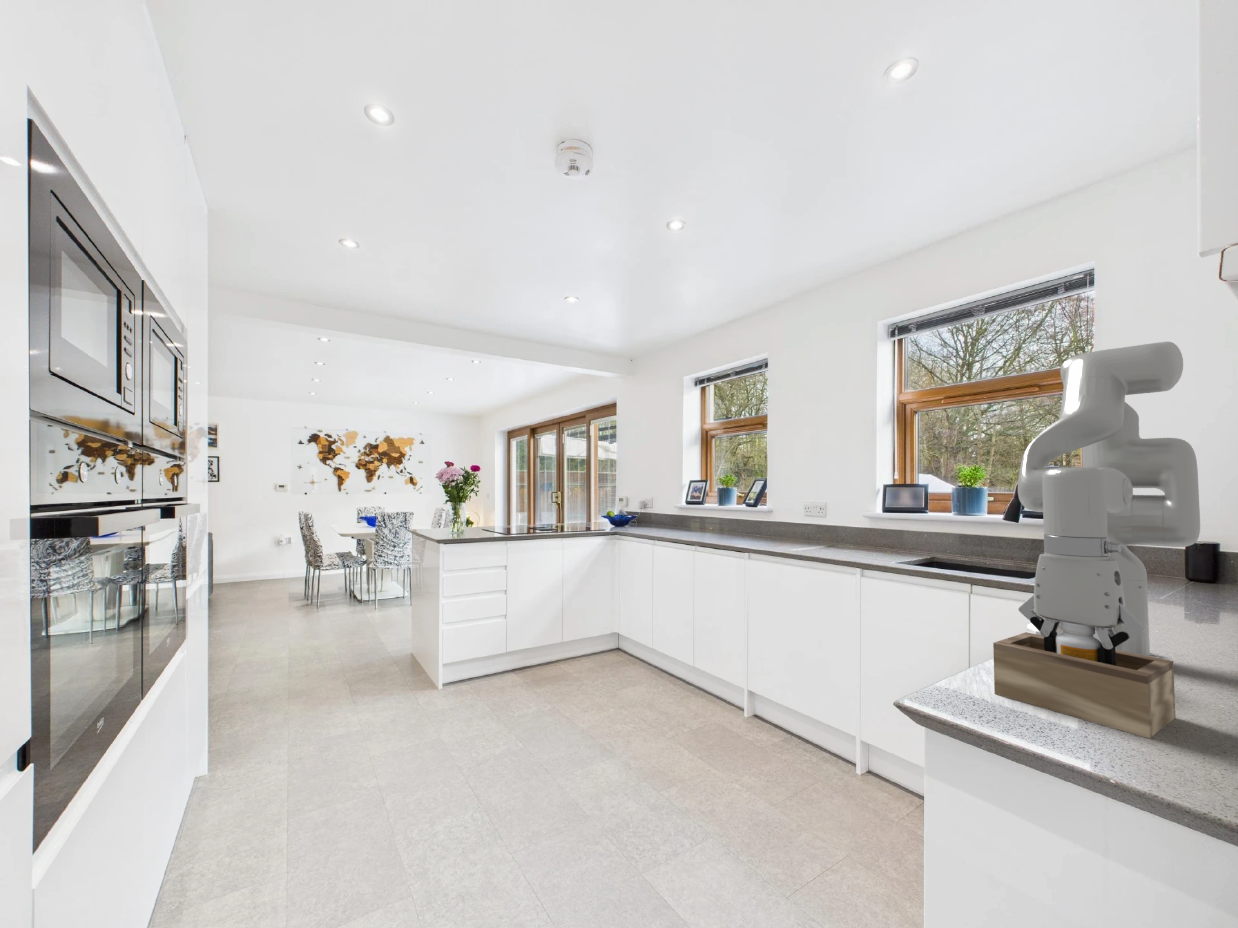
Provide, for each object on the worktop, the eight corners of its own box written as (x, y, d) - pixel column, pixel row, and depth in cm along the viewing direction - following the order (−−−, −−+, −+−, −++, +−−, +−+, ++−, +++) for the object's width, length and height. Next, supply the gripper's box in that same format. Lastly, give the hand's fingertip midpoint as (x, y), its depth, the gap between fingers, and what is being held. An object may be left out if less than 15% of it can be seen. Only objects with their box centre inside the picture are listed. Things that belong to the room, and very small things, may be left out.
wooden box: (1027, 679, 92) (1025, 632, 92) (1175, 717, 77) (1173, 660, 77) (994, 693, 85) (993, 642, 86) (1149, 738, 70) (1147, 676, 71)
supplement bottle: (1112, 695, 78) (1110, 627, 78) (1070, 692, 79) (1068, 625, 80) (1088, 682, 83) (1086, 618, 84) (1049, 679, 84) (1047, 616, 85)
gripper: (1160, 552, 77) (1165, 680, 76) (1020, 541, 91) (1023, 649, 91) (1143, 555, 73) (1149, 691, 72) (1000, 544, 87) (1003, 657, 87)
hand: (1079, 666), depth 81 cm, fingers closed on supplement bottle, 5 cm apart
